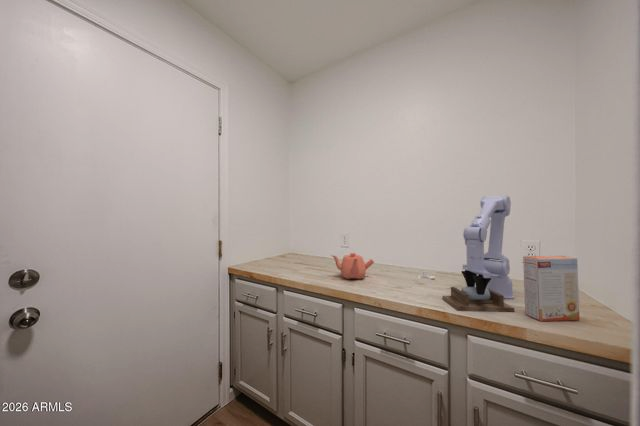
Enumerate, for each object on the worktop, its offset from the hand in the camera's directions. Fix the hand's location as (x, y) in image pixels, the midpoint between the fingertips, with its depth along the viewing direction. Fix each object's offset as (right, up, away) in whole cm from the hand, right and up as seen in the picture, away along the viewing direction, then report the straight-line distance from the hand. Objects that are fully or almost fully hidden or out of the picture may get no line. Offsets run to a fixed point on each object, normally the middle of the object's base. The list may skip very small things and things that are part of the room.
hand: (475, 291), depth 90 cm
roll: (0, -3, 0) cm, 3 cm away
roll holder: (0, -5, 0) cm, 5 cm away
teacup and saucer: (-2, -7, +38) cm, 38 cm away
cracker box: (+18, -5, -11) cm, 22 cm away
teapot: (-43, -6, +42) cm, 60 cm away
